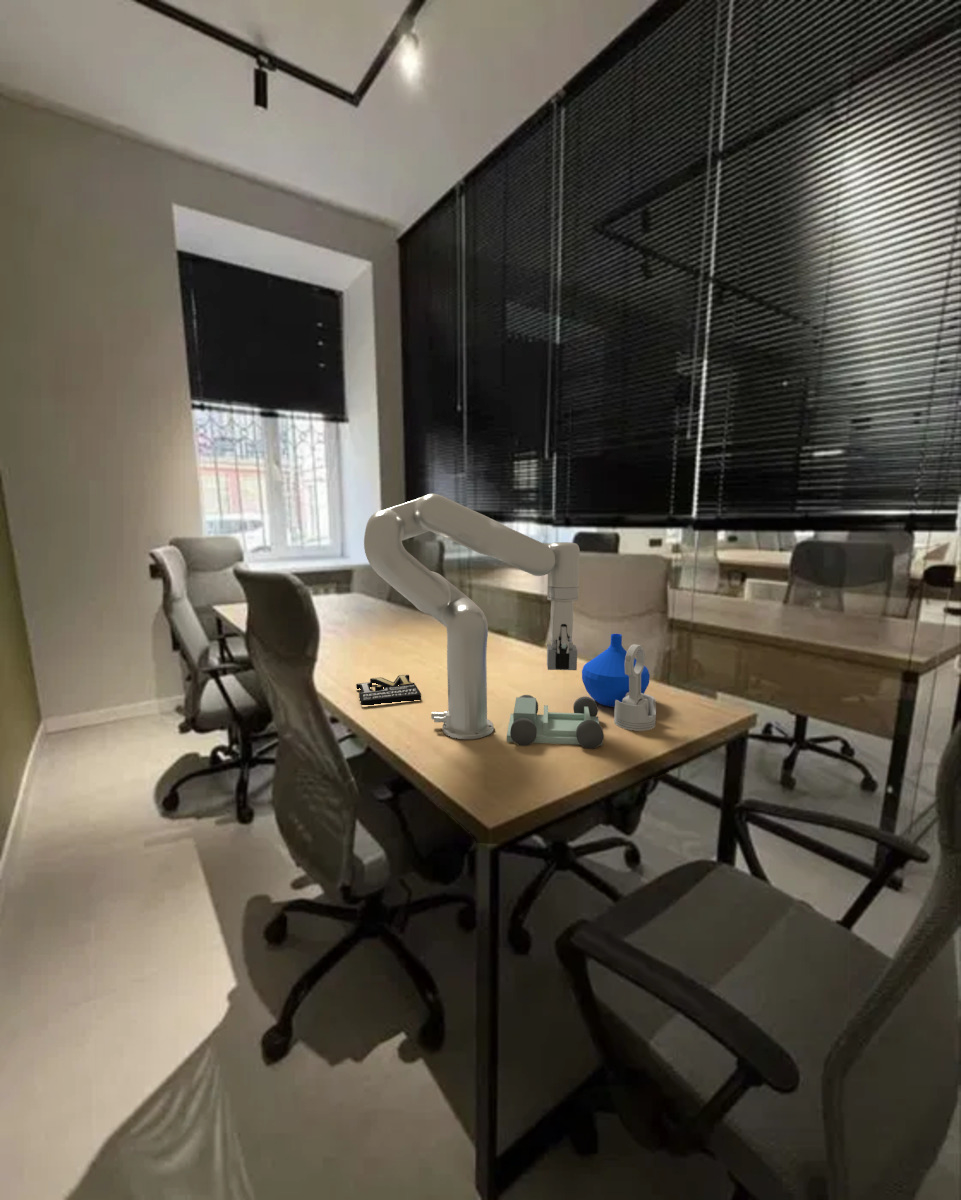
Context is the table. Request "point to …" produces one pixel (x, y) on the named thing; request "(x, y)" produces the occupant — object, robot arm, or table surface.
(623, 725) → the engine component
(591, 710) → the chassis
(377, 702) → the decorative sign
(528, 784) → the table surface
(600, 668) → the vase
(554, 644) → the block
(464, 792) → the table surface
